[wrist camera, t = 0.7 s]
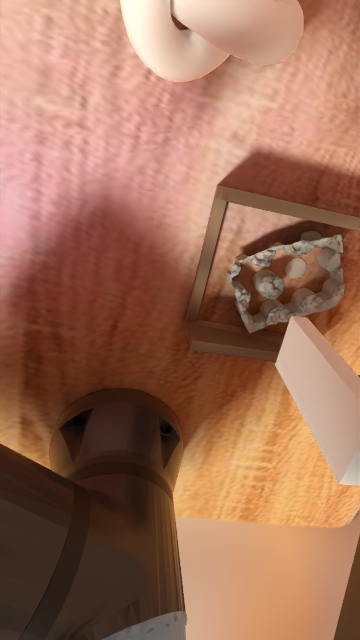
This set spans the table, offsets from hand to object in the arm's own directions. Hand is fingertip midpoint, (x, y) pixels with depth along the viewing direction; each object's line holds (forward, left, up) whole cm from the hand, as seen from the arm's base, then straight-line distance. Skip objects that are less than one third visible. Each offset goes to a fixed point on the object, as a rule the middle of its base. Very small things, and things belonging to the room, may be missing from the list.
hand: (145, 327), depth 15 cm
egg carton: (-1, -14, -18) cm, 23 cm away
